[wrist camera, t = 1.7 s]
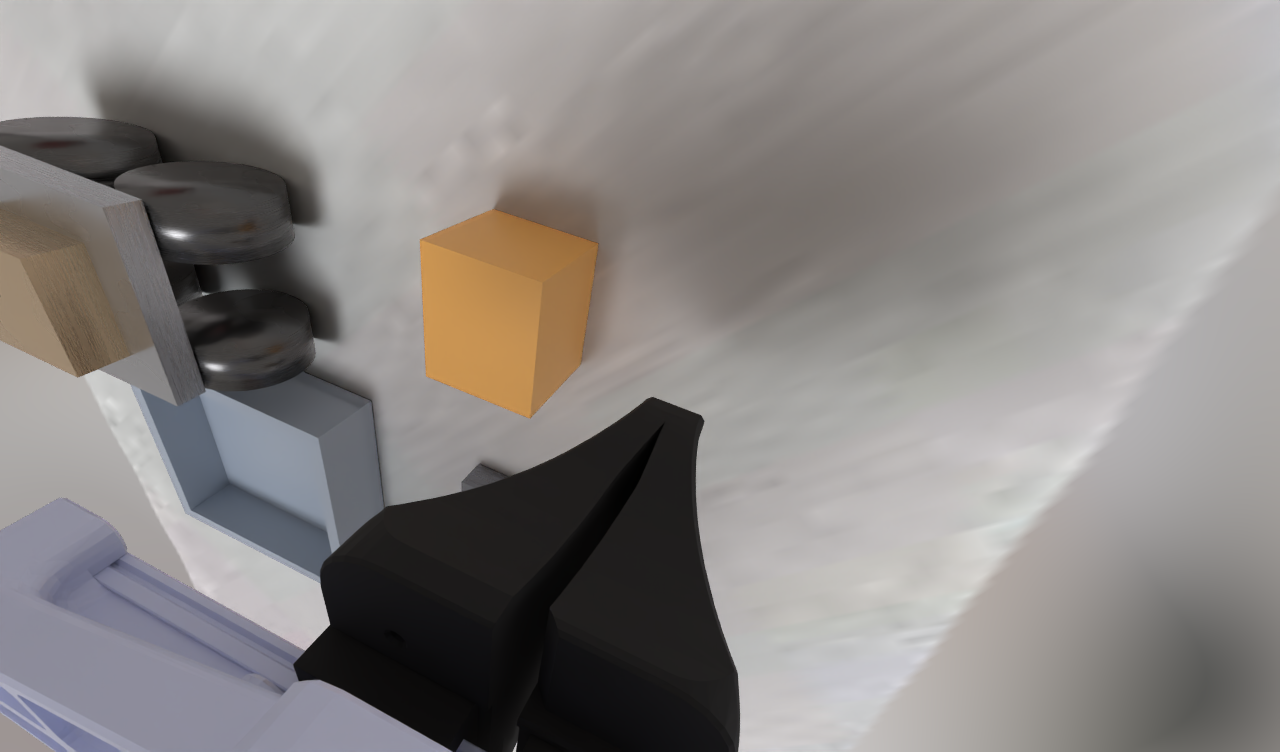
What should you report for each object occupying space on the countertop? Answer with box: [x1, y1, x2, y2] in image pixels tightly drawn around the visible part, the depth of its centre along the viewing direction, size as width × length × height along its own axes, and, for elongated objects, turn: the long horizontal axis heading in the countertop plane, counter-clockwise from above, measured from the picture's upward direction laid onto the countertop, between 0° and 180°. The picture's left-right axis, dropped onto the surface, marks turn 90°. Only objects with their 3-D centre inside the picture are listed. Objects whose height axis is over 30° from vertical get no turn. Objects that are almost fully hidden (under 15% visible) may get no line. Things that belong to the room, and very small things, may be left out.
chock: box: [420, 209, 598, 418], centre depth 16 cm, size 4×4×4 cm
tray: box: [130, 372, 384, 583], centre depth 27 cm, size 11×11×3 cm
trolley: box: [0, 117, 316, 406], centre depth 19 cm, size 7×10×7 cm
